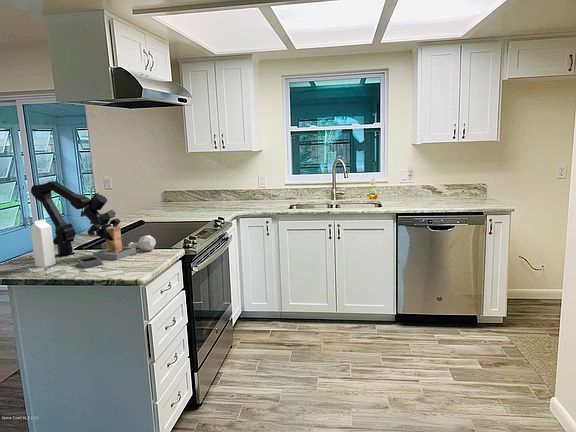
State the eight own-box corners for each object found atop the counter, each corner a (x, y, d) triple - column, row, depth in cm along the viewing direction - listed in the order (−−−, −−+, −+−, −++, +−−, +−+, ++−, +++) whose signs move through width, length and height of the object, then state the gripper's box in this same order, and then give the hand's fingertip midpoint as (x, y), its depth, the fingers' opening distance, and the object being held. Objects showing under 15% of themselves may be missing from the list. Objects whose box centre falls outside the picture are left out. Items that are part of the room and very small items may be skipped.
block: (107, 252, 213) (104, 228, 211) (113, 249, 218) (111, 226, 216) (115, 252, 211) (113, 228, 210) (122, 250, 216) (120, 226, 214)
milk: (35, 268, 199) (29, 221, 196) (46, 264, 205) (40, 218, 202) (45, 268, 198) (39, 221, 194) (56, 265, 203) (50, 219, 200)
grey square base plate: (74, 266, 199) (73, 259, 199) (96, 262, 206) (95, 255, 206) (82, 270, 192) (81, 263, 192) (104, 265, 199) (104, 259, 198)
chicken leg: (138, 247, 238) (130, 235, 235) (161, 243, 229) (153, 231, 226) (128, 256, 232) (120, 244, 228) (152, 253, 223) (143, 240, 219)
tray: (93, 259, 211) (93, 252, 210) (113, 252, 224) (113, 246, 223) (117, 261, 206) (116, 254, 206) (136, 254, 219) (135, 247, 219)
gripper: (90, 208, 203) (112, 232, 202) (115, 202, 221) (136, 224, 220) (77, 224, 206) (99, 247, 205) (104, 217, 224) (124, 239, 223)
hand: (115, 239), depth 213 cm, fingers closed on block, 5 cm apart
